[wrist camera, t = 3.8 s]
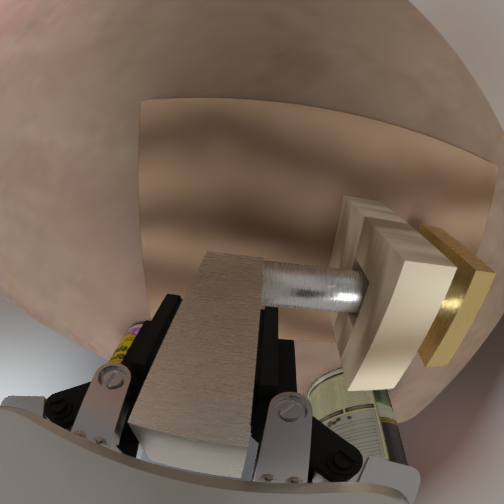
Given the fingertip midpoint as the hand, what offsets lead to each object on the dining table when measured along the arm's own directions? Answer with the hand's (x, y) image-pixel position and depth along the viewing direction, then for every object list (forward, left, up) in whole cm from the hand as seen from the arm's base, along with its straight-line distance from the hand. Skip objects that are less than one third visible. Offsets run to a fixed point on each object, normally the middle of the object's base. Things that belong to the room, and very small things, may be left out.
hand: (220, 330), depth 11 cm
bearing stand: (0, +7, -12) cm, 14 cm away
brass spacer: (0, +13, -8) cm, 16 cm away
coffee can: (+20, +14, -12) cm, 28 cm away
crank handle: (0, +7, -5) cm, 9 cm away
